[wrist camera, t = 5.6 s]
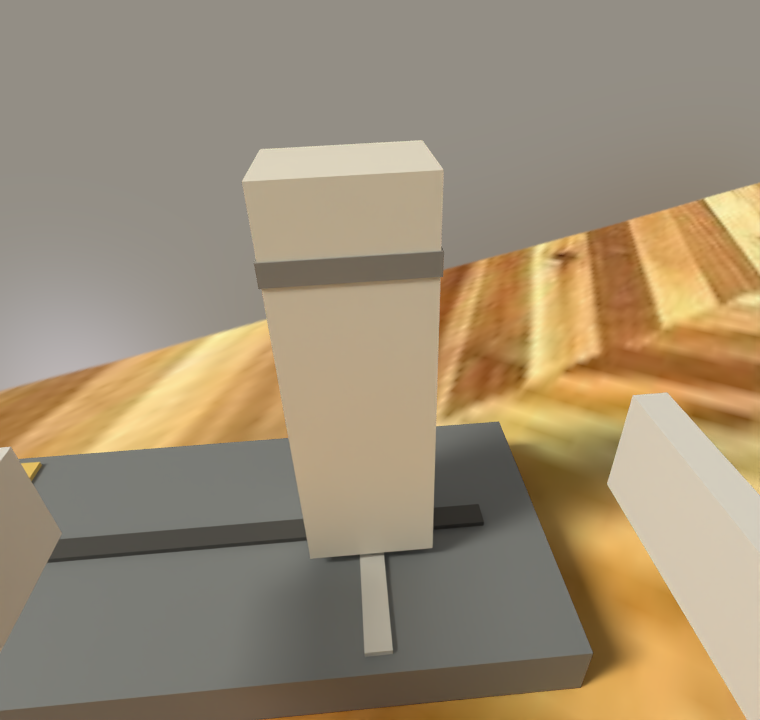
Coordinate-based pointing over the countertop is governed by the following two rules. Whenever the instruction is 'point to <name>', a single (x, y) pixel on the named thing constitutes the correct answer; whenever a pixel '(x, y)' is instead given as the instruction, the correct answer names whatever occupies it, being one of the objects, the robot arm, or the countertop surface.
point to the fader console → (280, 592)
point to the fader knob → (354, 333)
